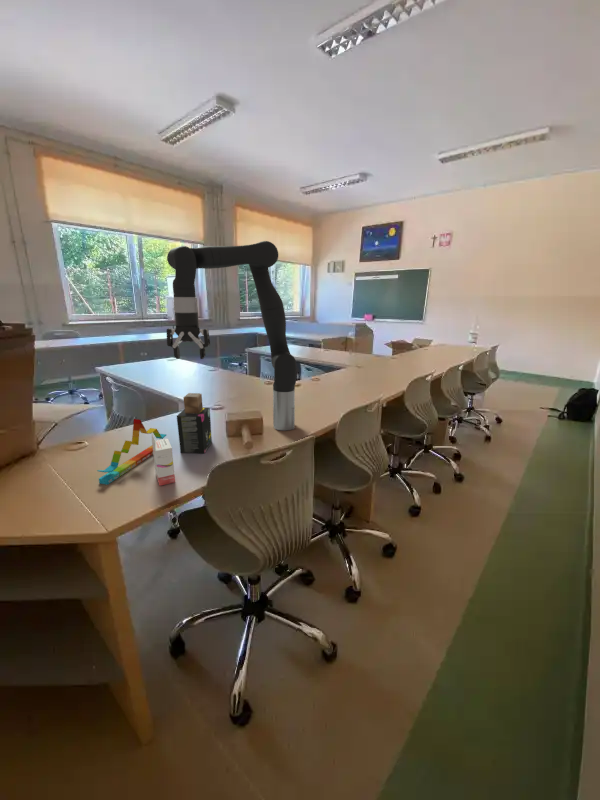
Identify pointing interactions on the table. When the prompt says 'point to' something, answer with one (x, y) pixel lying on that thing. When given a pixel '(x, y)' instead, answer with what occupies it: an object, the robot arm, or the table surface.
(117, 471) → the chart
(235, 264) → the robot arm
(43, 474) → the table surface
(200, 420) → the tampon box
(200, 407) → the walnut block
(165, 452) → the ink cartridge box
